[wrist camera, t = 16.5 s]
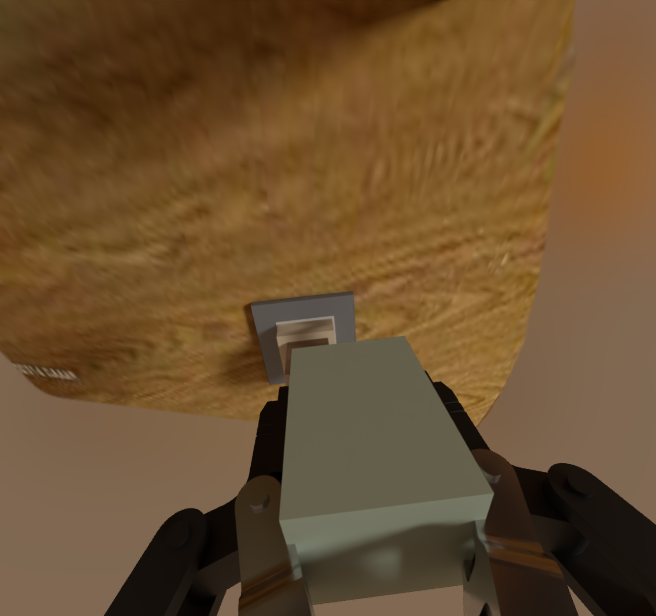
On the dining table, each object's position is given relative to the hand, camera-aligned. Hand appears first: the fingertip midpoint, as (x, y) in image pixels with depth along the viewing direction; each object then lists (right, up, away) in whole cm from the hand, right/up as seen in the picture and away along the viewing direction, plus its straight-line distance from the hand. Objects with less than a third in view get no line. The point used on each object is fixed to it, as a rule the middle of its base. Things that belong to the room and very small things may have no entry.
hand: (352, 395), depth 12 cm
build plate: (-4, -1, +28) cm, 28 cm away
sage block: (0, 0, +1) cm, 1 cm away
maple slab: (-4, -1, +27) cm, 27 cm away
